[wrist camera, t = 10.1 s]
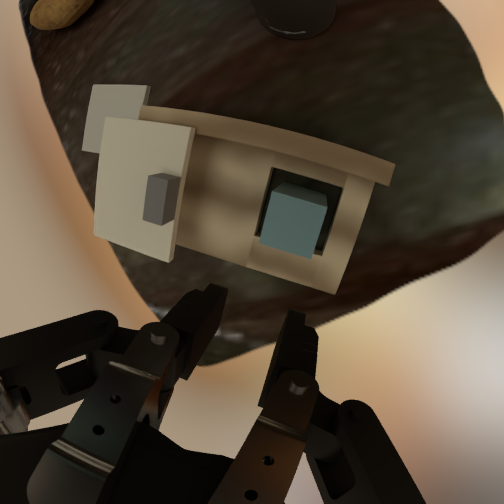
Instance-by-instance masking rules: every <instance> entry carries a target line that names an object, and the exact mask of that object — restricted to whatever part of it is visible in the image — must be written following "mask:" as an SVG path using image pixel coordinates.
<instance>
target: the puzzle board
mask: <svg viewBox="0 0 504 504" xmlns="http://www.w3.org/2000/svg"><path fill="white" fill-rule="evenodd" d="M138 120H145V121H153V122H160V123H167V124H174V125H180V126H186V127H192V128H196V129H195V134H194V138H193V143H192V148H191V153H190V158H189V163H188V169H187V174H186V179H185V185H184V191H183V196H182V202H181V208H180V215H179V221H178V228H177V235H176V242H175V244H177V245H180V246H183V247H186V248H189V249H192V250H196V251H199V252H202V253H205V254H208V255H211V256H214V257H217V258H220V259H223V260H226V261H229V262H233V263H236V264H239V265H242V266H245V267H248V268H251V269H254V270H258V271H261V272H264V273H267V274H270V275H273V276H277V277H280V278H283V279H286V280H289V281H293V282H296V283H299V284H302V285H305V286H309V287H312V288H315V289H318V290H322V291H325V292H328V293H331V294H336V291H337V289H338V286H339V284H340V281H341V279H342V276H343V273H344V271H345V268H346V266H347V263H348V260H349V258H350V255H351V252H352V249H353V247H354V244H355V241H356V238H357V235H358V233H359V230H360V227H361V224H362V221H363V218H364V215H365V212H366V209H367V206H368V203H369V200H370V196H371V193H372V190H373V187H374V184H375V182H378V183H381V184H383V185H386V186H389V184H390V181H391V177H392V174H393V171H394V167H395V164H393V163H391V162H388V161H385V160H383V159H380V158H377V157H374V156H372V155H369V154H366V153H363V152H360V151H357V150H354V149H351V148H348V147H345V146H342V145H338V144H335V143H332V142H329V141H325V140H322V139H318V138H315V137H311V136H308V135H304V134H300V133H297V132H293V131H289V130H285V129H281V128H277V127H272V126H268V125H264V124H259V123H255V122H250V121H245V120H240V119H235V118H230V117H224V116H219V115H213V114H207V113H201V112H194V111H187V110H180V109H172V108H164V107H154V106H144V105H141V108H140V113H139V118H138ZM274 167H275V168H278V169H282V170H286V171H289V172H293V173H296V174H300V175H303V176H307V177H310V178H313V179H317V180H320V181H323V182H327V183H330V184H333V185H336V186H339V187H342V190H341V193H340V197H339V200H338V203H337V207H336V210H335V213H334V216H333V219H332V222H331V226H330V229H329V232H328V235H327V238H326V241H325V244H324V247H323V250H322V251H321V250H318V249H314V252H313V255H312V258H311V259H308V258H305V257H301V256H298V255H295V254H292V253H289V252H285V251H282V250H279V249H276V248H272V247H269V246H266V245H263V244H259V240H260V236H261V232H260V231H258V227H259V224H260V220H261V216H262V212H263V208H264V204H265V200H266V196H267V192H268V188H269V184H270V180H271V176H272V172H273V168H274Z"/></svg>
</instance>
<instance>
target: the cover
mask: <svg viewBox="0 0 504 504" xmlns="http://www.w3.org/2000/svg"><path fill="white" fill-rule="evenodd" d="M195 129H196V128H192V127H186V126H180V125H174V124H167V123H160V122H153V121H145V120H136V119H127V118H117V117H105V123H104V129H103V135H102V142H101V149H100V157H99V165H98V174H97V185H96V197H95V214H94V235H95V236H98V237H100V238H103V239H105V240H108V241H111V242H113V243H116V244H119V245H121V246H124V247H127V248H129V249H132V250H135V251H137V252H140V253H143V254H146V255H148V256H151V257H154V258H157V259H159V260H162V261H165V262H168V263H169V262H170V261H171V260H173V256H174V249H175V242H176V235H177V228H178V221H179V215H180V208H181V202H182V196H183V191H184V185H185V179H186V174H187V169H188V163H189V158H190V153H191V148H192V143H193V138H194V134H195Z"/></svg>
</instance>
